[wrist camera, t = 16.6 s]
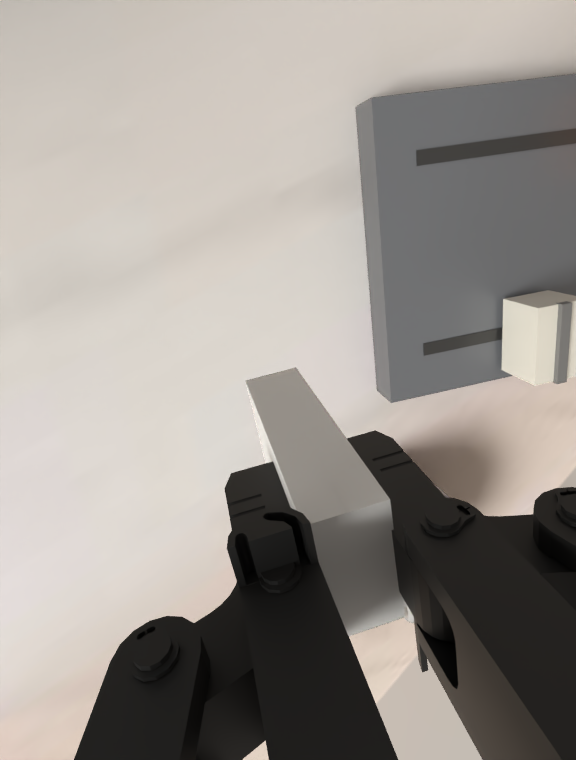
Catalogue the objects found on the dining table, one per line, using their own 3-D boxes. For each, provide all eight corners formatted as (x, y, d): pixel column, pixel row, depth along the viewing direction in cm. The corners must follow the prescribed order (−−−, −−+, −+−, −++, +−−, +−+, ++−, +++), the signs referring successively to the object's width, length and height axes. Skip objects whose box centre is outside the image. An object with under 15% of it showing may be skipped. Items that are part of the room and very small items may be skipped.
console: (355, 107, 34) (371, 97, 31) (643, 72, 38) (681, 61, 35) (377, 390, 42) (391, 403, 39) (613, 338, 46) (642, 347, 43)
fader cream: (503, 298, 38) (542, 308, 34) (548, 289, 38) (592, 298, 34) (501, 370, 40) (538, 388, 36) (543, 361, 41) (584, 377, 36)
